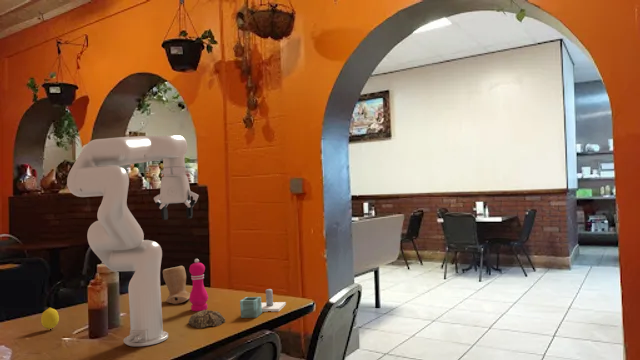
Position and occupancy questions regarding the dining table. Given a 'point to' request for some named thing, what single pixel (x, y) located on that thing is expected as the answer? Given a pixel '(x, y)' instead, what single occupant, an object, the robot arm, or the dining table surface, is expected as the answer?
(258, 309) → the collar
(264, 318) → the dining table surface
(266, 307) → the shaft base
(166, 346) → the dining table surface
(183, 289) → the beige hollow piece
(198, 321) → the bread roll
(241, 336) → the dining table surface
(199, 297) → the pepper mill
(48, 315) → the lemon
